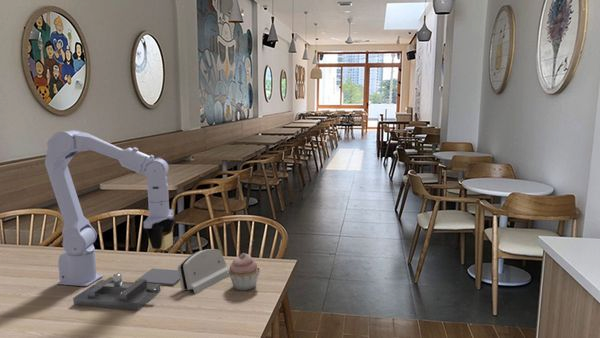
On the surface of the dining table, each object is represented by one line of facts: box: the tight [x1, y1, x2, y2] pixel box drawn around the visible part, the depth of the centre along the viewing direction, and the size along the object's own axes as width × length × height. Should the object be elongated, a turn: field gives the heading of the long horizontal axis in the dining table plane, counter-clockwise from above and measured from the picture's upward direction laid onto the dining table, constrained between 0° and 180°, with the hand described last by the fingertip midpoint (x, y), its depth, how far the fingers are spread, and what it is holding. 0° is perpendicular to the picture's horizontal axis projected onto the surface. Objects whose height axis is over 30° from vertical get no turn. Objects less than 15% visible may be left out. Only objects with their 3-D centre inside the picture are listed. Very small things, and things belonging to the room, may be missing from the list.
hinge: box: [177, 248, 230, 295], centre depth 132 cm, size 17×5×10 cm, turn 151°
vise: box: [73, 272, 162, 312], centre depth 121 cm, size 20×12×6 cm, turn 80°
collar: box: [148, 231, 174, 251], centre depth 133 cm, size 5×5×4 cm
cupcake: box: [227, 252, 261, 291], centre depth 128 cm, size 9×9×10 cm
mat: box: [134, 268, 180, 287], centre depth 135 cm, size 12×10×1 cm
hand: (160, 245), depth 134 cm, fingers closed on collar, 5 cm apart
